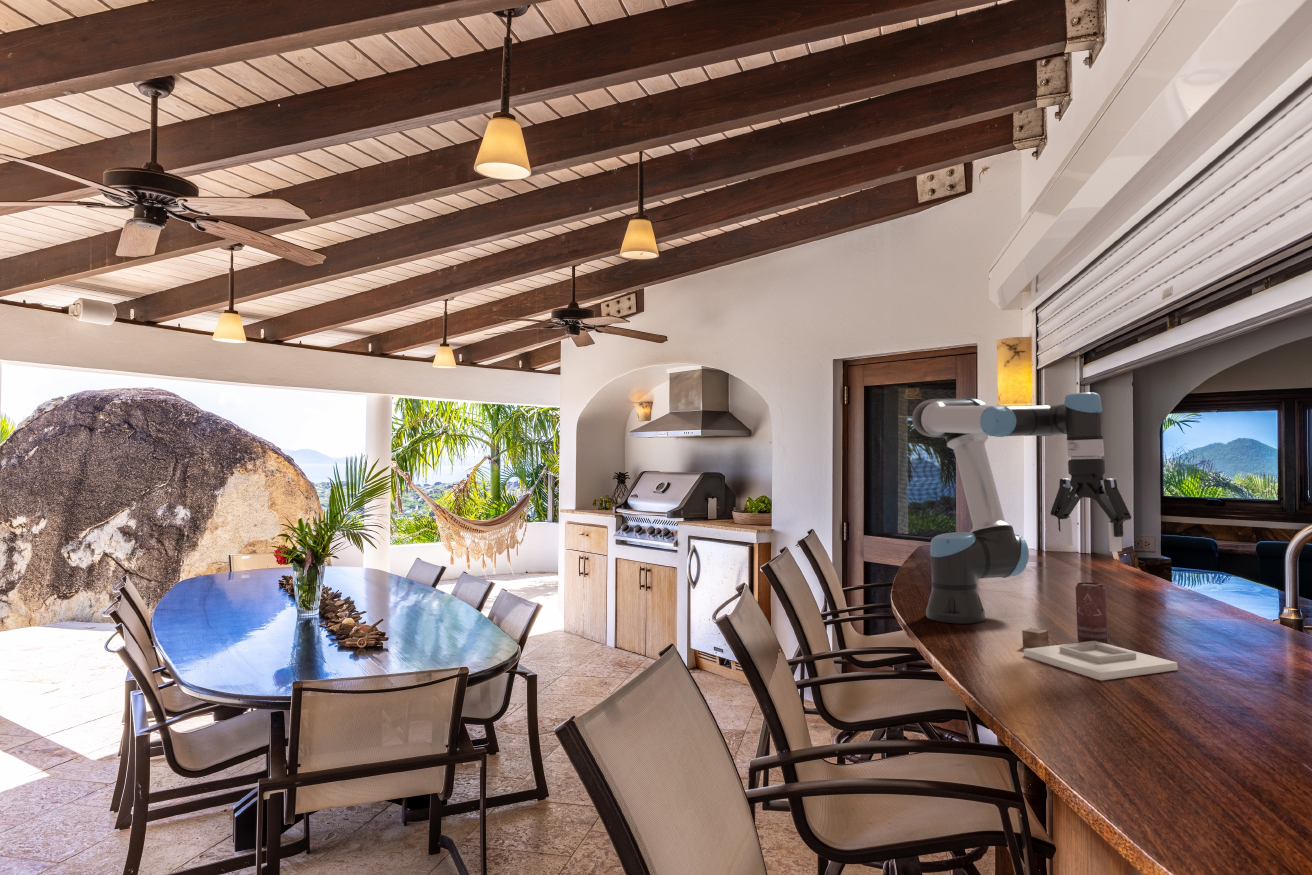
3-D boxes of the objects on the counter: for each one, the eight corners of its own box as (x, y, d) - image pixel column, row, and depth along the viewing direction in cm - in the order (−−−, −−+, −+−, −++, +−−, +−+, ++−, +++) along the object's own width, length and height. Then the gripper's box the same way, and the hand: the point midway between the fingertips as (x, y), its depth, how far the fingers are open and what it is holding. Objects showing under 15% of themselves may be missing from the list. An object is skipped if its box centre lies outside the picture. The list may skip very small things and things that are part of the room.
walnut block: (1022, 647, 173) (1022, 630, 173) (1031, 644, 175) (1030, 627, 175) (1040, 650, 169) (1039, 633, 170) (1048, 647, 172) (1047, 630, 172)
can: (1114, 646, 171) (1112, 585, 171) (1086, 646, 171) (1084, 586, 172) (1099, 640, 177) (1097, 581, 178) (1072, 640, 177) (1070, 581, 178)
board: (1024, 655, 165) (1023, 643, 165) (1094, 647, 171) (1094, 635, 171) (1100, 680, 146) (1100, 666, 146) (1177, 669, 152) (1177, 656, 152)
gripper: (1032, 459, 186) (1036, 544, 185) (1119, 457, 162) (1125, 554, 161) (1056, 458, 188) (1060, 542, 187) (1146, 456, 164) (1151, 552, 163)
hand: (1090, 548), depth 174 cm, fingers open, 13 cm apart
